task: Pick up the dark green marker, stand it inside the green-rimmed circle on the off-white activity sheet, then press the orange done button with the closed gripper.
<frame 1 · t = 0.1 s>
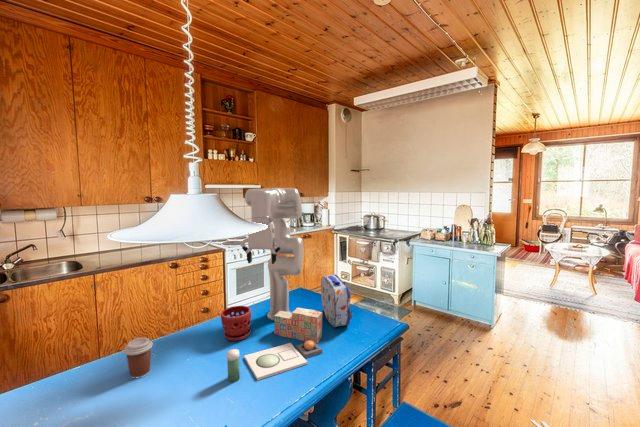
hand: (261, 262, 126), 37 cm above the table, tool pointing down, fingers open, 9 cm apart
plant pot: (236, 336, 141), on the table
lunch box: (335, 319, 159), on the table
done button: (309, 345, 129), point 2 cm above the table, slide at 0.0 cm
activity sheet: (275, 361, 122), on the table
button housing: (309, 350, 129), on the table
stack of blocks: (297, 336, 142), on the table
coffee cup: (140, 373, 114), on the table
marker: (233, 378, 111), on the table
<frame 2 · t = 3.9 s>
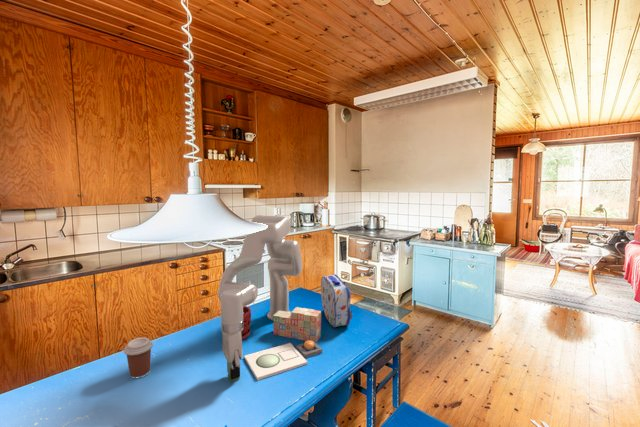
hand: (233, 374, 111), 2 cm above the table, tool pointing down, fingers closed on marker, 4 cm apart
marker: (233, 378, 111), on the table, touching gripper
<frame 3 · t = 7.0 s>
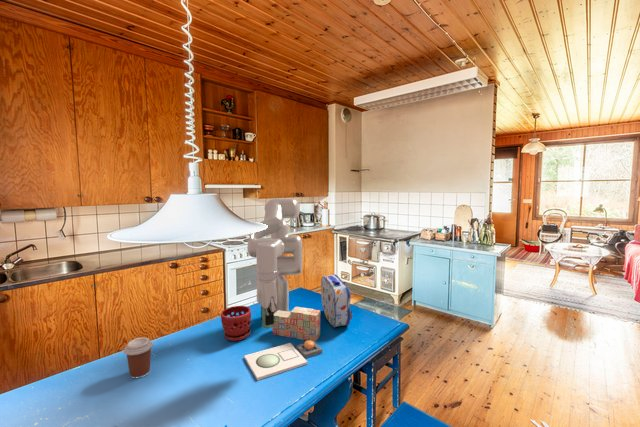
hand: (267, 321, 119), 17 cm above the table, tool pointing down, fingers closed on marker, 4 cm apart
marker: (267, 326, 119), point 15 cm above the table, touching gripper
when the fingers open (4 cm above the table, at t = 10.2 s): marker stays where it is, resting on activity sheet.
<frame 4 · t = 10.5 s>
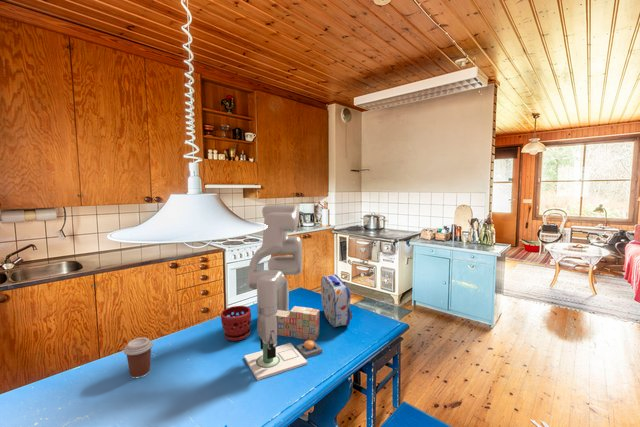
hand: (267, 352, 120), 4 cm above the table, tool pointing down, fingers open, 7 cm apart
marker: (268, 360, 120), point 1 cm above the table, touching activity sheet
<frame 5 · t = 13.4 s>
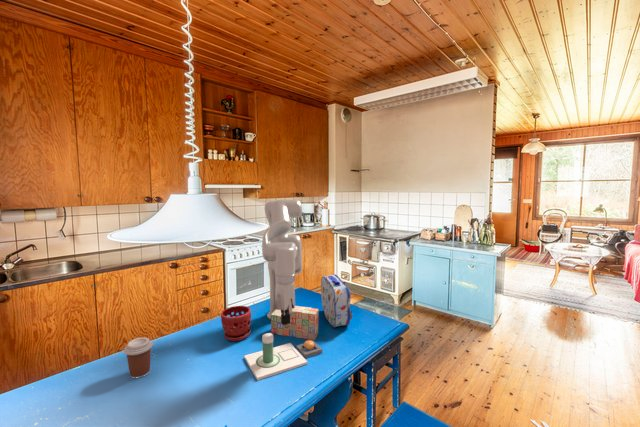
hand: (285, 323, 122), 14 cm above the table, tool pointing down, fingers closed
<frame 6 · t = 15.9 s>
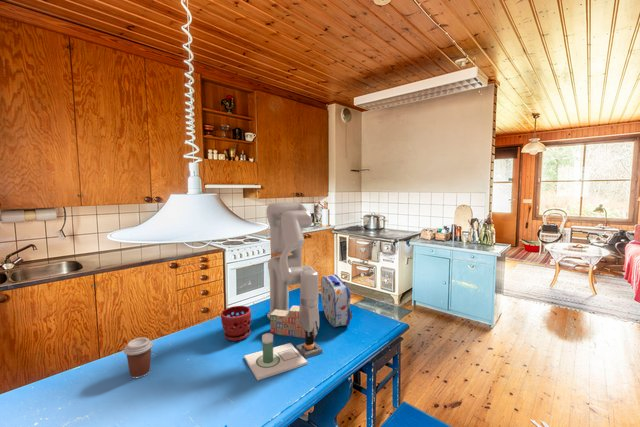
hand: (309, 343, 129), 3 cm above the table, tool pointing down, fingers closed
done button: (309, 345, 129), point 2 cm above the table, slide at 0.3 cm, touching gripper
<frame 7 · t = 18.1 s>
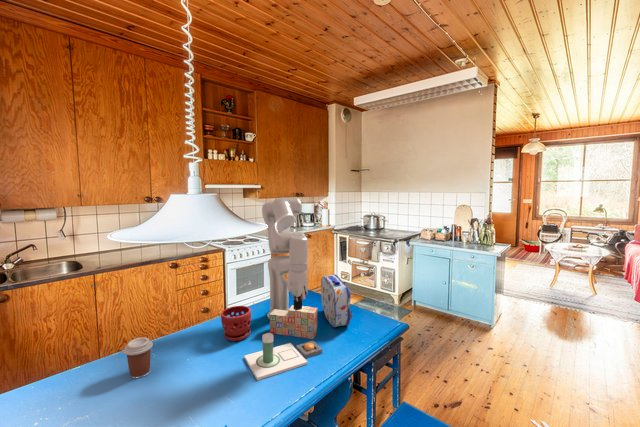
hand: (297, 309, 129), 17 cm above the table, tool pointing down, fingers closed
done button: (309, 347, 129), point 1 cm above the table, slide at 1.1 cm
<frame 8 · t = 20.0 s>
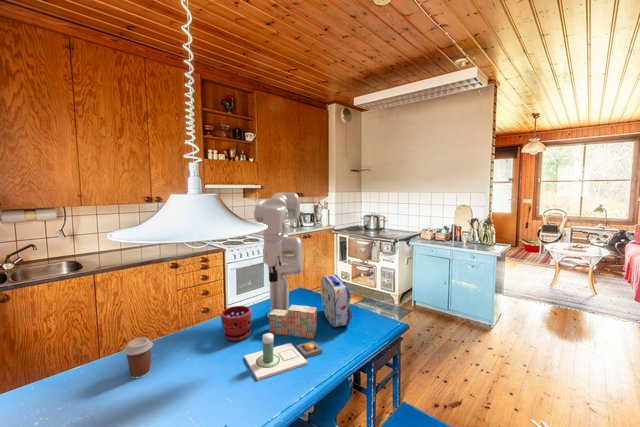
hand: (273, 281, 128), 29 cm above the table, tool pointing down, fingers closed
at the end: marker 0.1 cm from the target spot on the activity sheet, point 1.1 cm above the activity sheet's base; marker tilted 1°; done button slide at 1.1 cm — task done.
